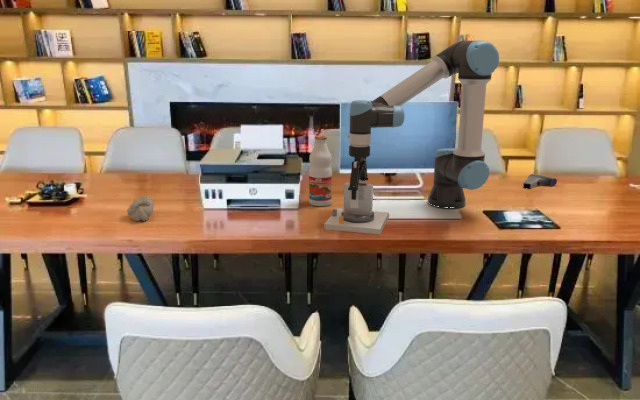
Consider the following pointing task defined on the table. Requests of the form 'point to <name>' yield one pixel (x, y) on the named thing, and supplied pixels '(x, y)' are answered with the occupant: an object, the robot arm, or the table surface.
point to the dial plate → (357, 223)
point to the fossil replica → (141, 208)
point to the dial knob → (359, 204)
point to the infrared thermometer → (539, 181)
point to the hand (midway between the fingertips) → (358, 202)
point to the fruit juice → (320, 173)
